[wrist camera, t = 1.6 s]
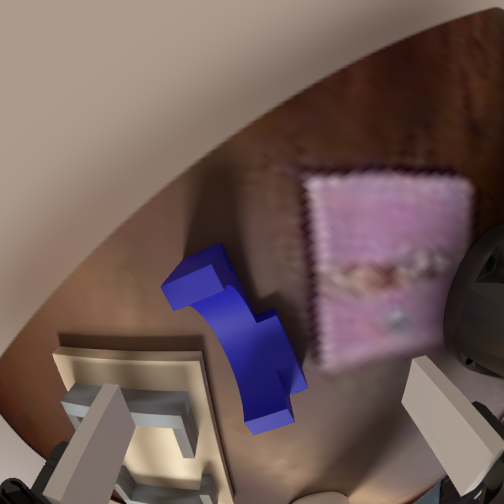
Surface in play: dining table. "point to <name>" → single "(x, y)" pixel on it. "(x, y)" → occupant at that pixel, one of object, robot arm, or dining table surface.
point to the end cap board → (155, 421)
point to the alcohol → (323, 498)
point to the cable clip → (241, 336)
